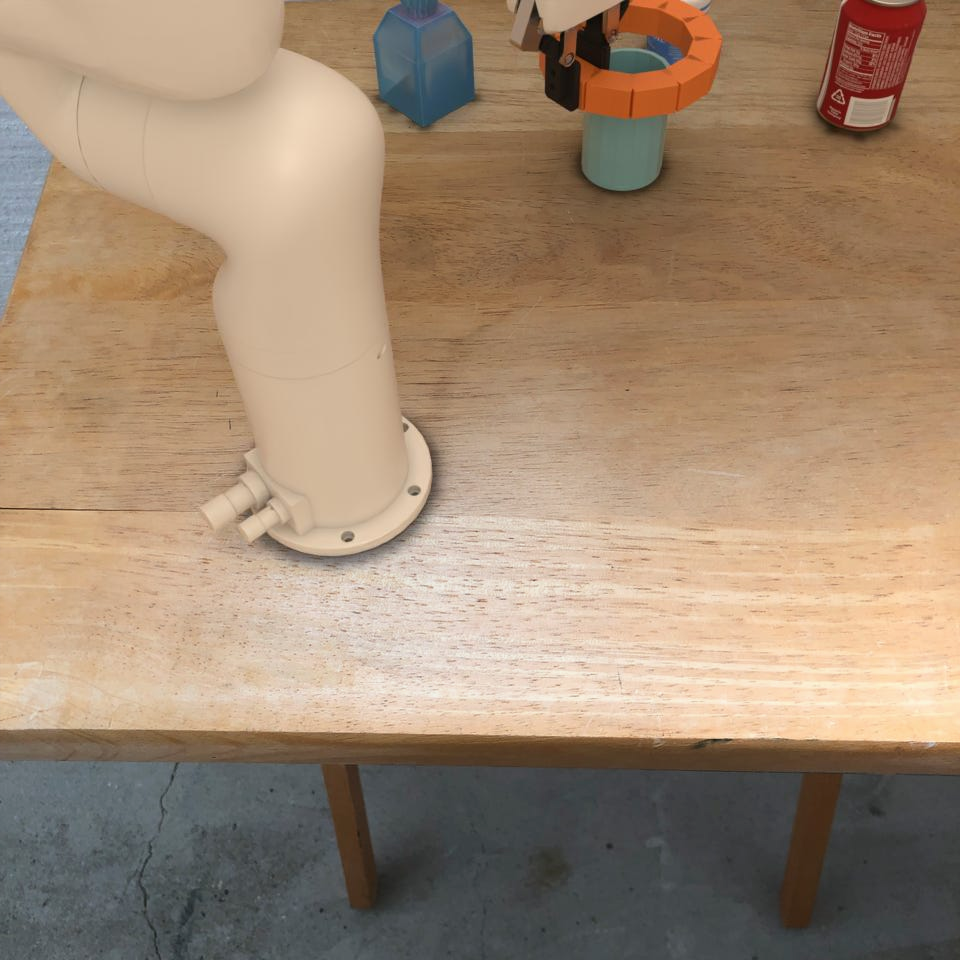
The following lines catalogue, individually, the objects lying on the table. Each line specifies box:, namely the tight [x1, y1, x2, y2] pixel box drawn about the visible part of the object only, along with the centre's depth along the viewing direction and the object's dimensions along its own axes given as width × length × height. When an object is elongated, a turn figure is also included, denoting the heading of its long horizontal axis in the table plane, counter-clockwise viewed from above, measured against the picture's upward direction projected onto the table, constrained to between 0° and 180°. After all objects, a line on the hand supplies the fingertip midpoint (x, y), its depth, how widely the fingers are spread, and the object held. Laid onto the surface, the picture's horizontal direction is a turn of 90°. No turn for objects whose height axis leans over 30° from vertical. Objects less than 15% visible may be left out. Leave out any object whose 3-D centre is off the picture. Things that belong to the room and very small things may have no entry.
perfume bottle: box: [372, 0, 476, 128], centre depth 96 cm, size 6×6×12 cm
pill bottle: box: [645, 0, 712, 66], centre depth 100 cm, size 6×5×10 cm
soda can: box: [816, 0, 928, 132], centre depth 93 cm, size 7×7×12 cm
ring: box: [538, 0, 723, 119], centre depth 85 cm, size 14×14×2 cm
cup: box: [580, 47, 670, 192], centre depth 91 cm, size 7×7×9 cm
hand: (576, 93), depth 84 cm, fingers closed on ring, 2 cm apart
